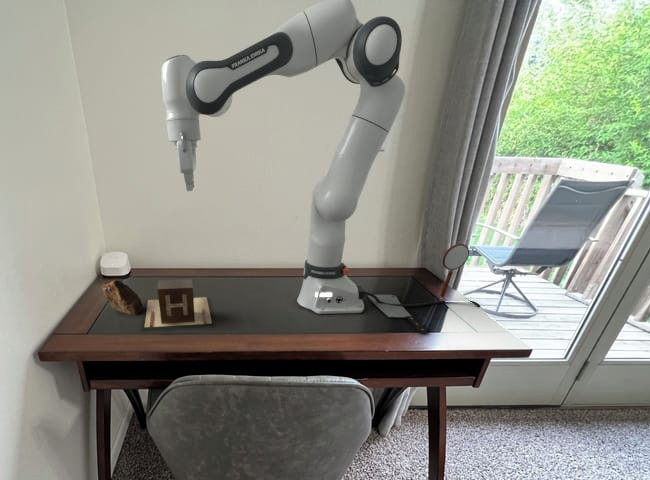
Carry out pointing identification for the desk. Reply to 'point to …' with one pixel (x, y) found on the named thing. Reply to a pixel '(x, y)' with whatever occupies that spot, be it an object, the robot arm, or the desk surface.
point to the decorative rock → (122, 297)
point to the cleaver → (396, 310)
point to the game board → (200, 318)
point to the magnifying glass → (454, 261)
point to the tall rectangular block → (176, 301)
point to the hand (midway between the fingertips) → (190, 189)
